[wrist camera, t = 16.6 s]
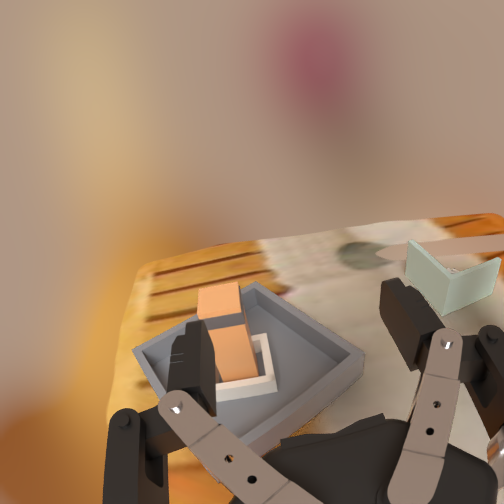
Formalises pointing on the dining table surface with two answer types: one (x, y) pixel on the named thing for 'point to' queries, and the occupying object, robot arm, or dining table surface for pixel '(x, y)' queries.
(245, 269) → the dining table surface
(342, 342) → the walled box
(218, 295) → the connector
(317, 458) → the robot arm
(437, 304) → the l-shaped corner panel
